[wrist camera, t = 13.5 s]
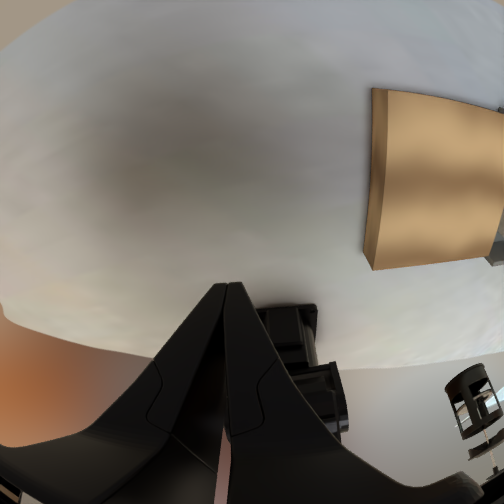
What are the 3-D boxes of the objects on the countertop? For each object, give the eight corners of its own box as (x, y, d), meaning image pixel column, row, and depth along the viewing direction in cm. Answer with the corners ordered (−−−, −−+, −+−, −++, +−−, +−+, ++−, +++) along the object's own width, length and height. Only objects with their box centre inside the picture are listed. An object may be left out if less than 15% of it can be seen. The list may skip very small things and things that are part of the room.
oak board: (475, 241, 21) (488, 255, 19) (363, 252, 22) (372, 270, 20) (498, 112, 14) (517, 119, 12) (371, 88, 15) (387, 90, 13)
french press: (436, 387, 39) (466, 493, 20) (476, 358, 35) (517, 465, 16) (454, 394, 43) (481, 481, 24) (488, 369, 38) (522, 457, 19)
